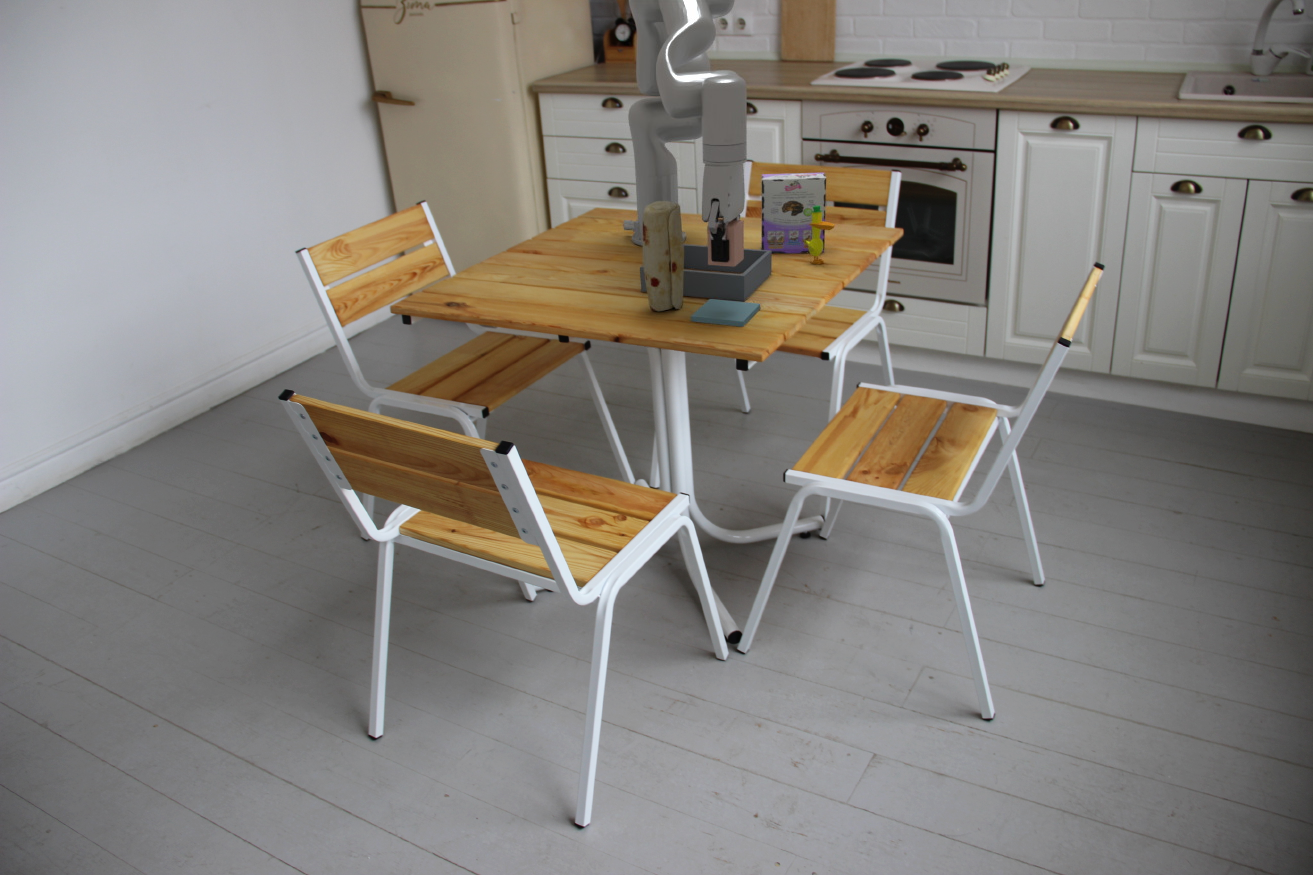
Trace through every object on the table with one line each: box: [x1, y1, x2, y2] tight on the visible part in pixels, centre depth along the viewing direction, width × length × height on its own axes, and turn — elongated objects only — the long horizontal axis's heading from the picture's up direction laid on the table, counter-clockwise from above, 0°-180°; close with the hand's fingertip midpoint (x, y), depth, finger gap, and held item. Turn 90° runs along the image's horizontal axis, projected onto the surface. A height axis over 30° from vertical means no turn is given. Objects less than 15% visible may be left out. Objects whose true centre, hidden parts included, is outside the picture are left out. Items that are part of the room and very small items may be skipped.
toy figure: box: [806, 206, 836, 265], centre depth 203 cm, size 7×4×12 cm, turn 49°
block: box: [706, 218, 745, 267], centre depth 173 cm, size 5×5×7 cm
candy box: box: [760, 172, 827, 254], centre depth 211 cm, size 14×6×16 cm, turn 84°
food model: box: [642, 201, 685, 312], centre depth 180 cm, size 10×7×20 cm
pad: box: [690, 298, 761, 328], centre depth 179 cm, size 10×10×1 cm
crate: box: [639, 243, 773, 302], centre depth 196 cm, size 22×18×5 cm
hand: (725, 256), depth 174 cm, fingers closed on block, 4 cm apart
